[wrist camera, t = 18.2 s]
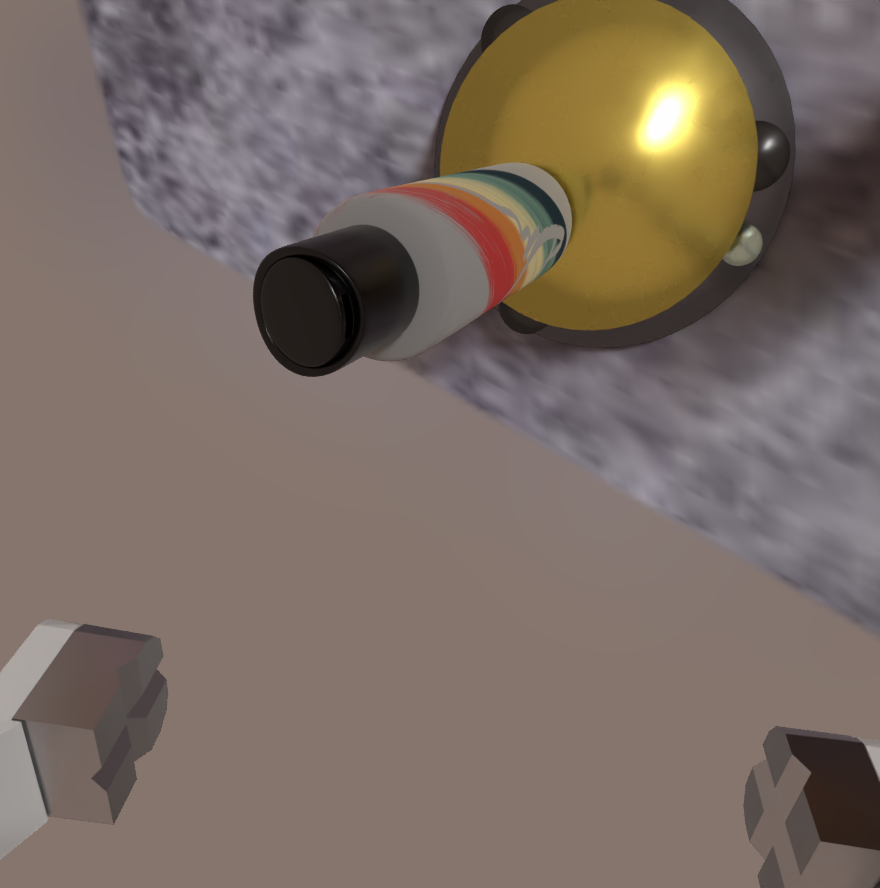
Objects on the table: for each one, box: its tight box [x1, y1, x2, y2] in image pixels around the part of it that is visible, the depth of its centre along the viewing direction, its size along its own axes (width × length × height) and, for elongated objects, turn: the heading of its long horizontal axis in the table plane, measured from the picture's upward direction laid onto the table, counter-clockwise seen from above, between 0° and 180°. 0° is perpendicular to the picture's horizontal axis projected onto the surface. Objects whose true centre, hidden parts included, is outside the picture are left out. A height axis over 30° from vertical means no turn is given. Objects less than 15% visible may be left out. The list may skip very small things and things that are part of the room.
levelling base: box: [435, 0, 795, 348], centre depth 39 cm, size 18×18×3 cm
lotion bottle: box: [253, 163, 572, 377], centre depth 31 cm, size 6×6×20 cm
